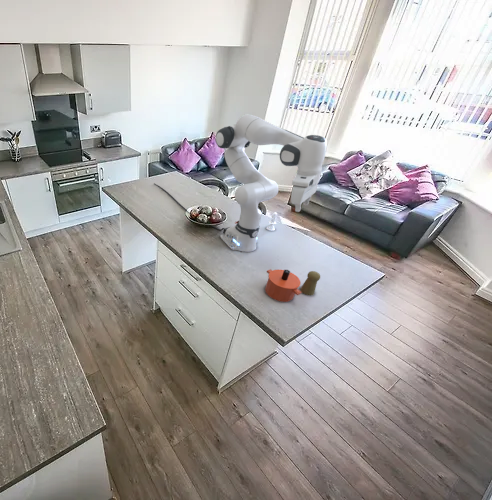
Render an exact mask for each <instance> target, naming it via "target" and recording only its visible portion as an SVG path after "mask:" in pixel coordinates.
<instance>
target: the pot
mask: <svg viewBox="0 0 492 500" xmlns="http://www.w3.org/2000/svg"><path fill="white" fill-rule="evenodd" d="M271 271H273V270H272V269H271V268H270V269H267V270H266V273H267V274H268V275H269V273H270V272H271ZM264 289H265V294H266V295H267V296H268V297H269V298H271V299H272V300H275V301H276V302H281V303H288V302H291V301H292V300H294V298H295V296H299V295H302V294H303V293H302V292H301V290H300V289H298V288H296V289H283V288H280V287H278V286H276V285H274V284H273V283H272V282H271V281H270V280H269V277H268V279H267V281H266V285H265V287H264Z"/></svg>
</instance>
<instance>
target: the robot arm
mask: <svg viewBox="0 0 492 500" xmlns="http://www.w3.org/2000/svg"><path fill="white" fill-rule="evenodd" d="M214 139H215V144H216V146H217V147H218V148H219V149H225V151H224V155H223V157H224V160H225V163H226V165H227V167H228V169H229V170H230V172H231V174H232V175H233V177H234V179H235V181H236V182H238V183H240V184H242V185H240V186H238V187H237V188H236V189H235V192H234V199H235V202H236V203H237V204H238V205H239V207H240V215H239V219H238V220H237V221H235V222H234V224H235V225H233V226H227V227H222V228H217V227H216V226H214V225H213V226H211V228H213V229H215V230H217V231H219V232H222V233H221V234H220V236H219V238H220V239H221V240H222V241H223V242H224V243H225V245H227V247H229V249H230V250H232V251H239V252H243V253H250V252H254V251H255V250H257V240H258V234H259V231H260V223H261V220H262V217H263V213H262V211H261V210H260V208H259V204H260V203H263V202H267V201H270V200H272V199H273V198H275V197H277V195H278V193H279V189H280V188H279V184H278V183H277V182H276V181H275V180H273V179H270V178H268V177H266V176H265V175H264V174H263V173H262V172H260V171H259V170H258V169H257V168H256V167H255V165H254V164H253V163H252V161H251V159H250V158H249V157H248V156H249V155H247V153H246V151H245V149H246V148H248V147H249V146H250V144H253V145H257V146H269V145H280V146H282V148H281V150H280V151H279V161H280V163H281V164H282V165H283V166H285V167H297V171H296V174H295V176H294V178H293V179H292V182H291V185H292V189H291V196H290V203H291V204H293V205H294V206H295V207H294V209H295V210H294V211H295V212H296V213H300V211H301V210H302V205H303V206H308V205H309V203H310V200H311V198H312V196H313V195H314V194H316V192H317V191H318V190H317V189H318V185H319V182H320V180H321V176H322V171H323V168H322V167H323V166H322V165H323V163H324V161H325V157H326V152H327V139H326V138H325V137H324V136H322V135H318V134H317V135H316V134H309V135H307V136H305V137H304V136H302V135H299V134H296V133H294V132H292V131H289V130H287V129H284V128H283V127H280V126H277V125H275V124H273V123H271V122H269V121H267V120H266V119H264V118H261V117H259V116H257V115H254V114H251V113H244V114H242V115H241V116H240V117H239V118H238V119H237V121H236V124H232V125H228V126H224V127H222V128H220V129H218V130H217V131H216V133H215V138H214ZM153 185H154V186H157V187H158V188H160V189H161V190H162V191H164V192H165V193H166V194H167V195H168V196H169V197H171V199H172V200H174V202H175V203H176V204H178V205H179V207H181V208H182V209H183V210H184V211H185V212H187V210H188V209H186V208H185V207H184V206H183V205H182V204H181V203H180V202H179V201H178V200H177V199H176V198H175V197H173V195H171V193H169V192H168V191H167V190H165V189H164V187H162V186H160V185H158V184H156V183H155V182H154V183H153Z"/></svg>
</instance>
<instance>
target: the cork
mask: <svg viewBox="0 0 492 500" xmlns="http://www.w3.org/2000/svg"><path fill="white" fill-rule="evenodd" d="M320 280H321V274H320V272H317V271H314V270H311V271H309V272H308V273H307V275H306V279H305V281H304V282H303V284H302V285H301V287H300V289H299V290H300V291H301V292H302V293H301V294H304V296H305V295H306V296H314V295H315V293H316V292H315V291H316V288H317V284H318V281H320Z"/></svg>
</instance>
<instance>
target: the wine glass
mask: <svg viewBox="0 0 492 500" xmlns="http://www.w3.org/2000/svg"><path fill="white" fill-rule="evenodd" d="M277 217H278V213H277V212H276V211H274V212H273V213H272V215H271V219H270V220H268V223H269V225H267V226H266V227H265V228H266V230H268V231H271V232H274V231H275V230H276V228H275V225H277V222H276V220H277Z"/></svg>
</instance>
